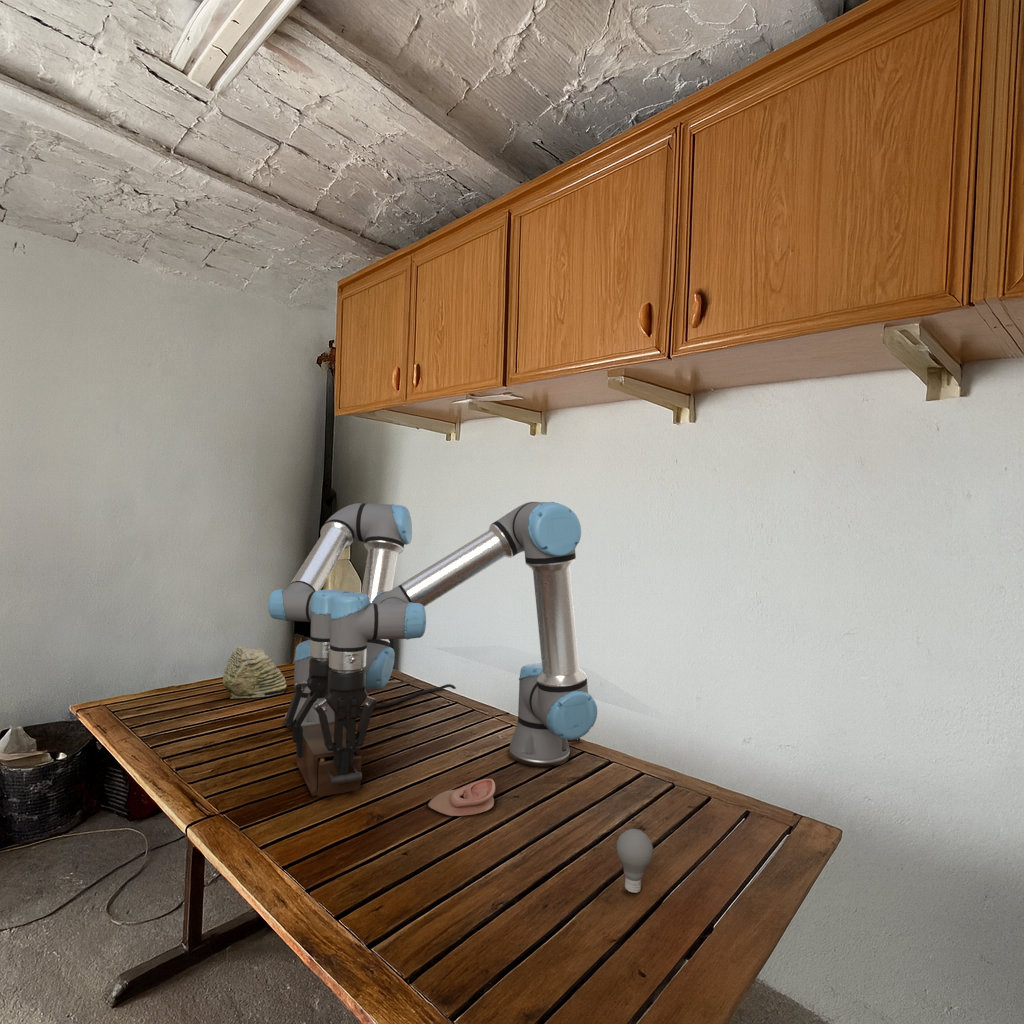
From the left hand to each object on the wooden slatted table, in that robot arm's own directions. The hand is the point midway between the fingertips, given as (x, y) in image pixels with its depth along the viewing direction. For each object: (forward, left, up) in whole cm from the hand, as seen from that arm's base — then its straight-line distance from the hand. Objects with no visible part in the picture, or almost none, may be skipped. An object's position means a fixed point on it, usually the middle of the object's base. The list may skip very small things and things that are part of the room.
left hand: (322, 751), depth 148 cm
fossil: (-16, -60, -4) cm, 62 cm away
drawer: (+4, +10, -3) cm, 11 cm away
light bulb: (-7, +77, -4) cm, 77 cm away
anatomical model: (-10, +36, -4) cm, 37 cm away
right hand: (+7, +17, +1) cm, 19 cm away
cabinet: (+2, +4, -4) cm, 6 cm away
